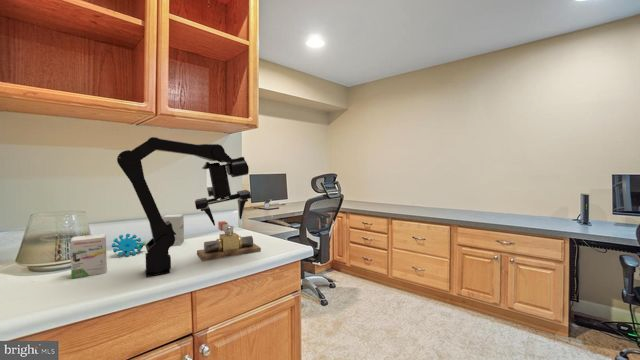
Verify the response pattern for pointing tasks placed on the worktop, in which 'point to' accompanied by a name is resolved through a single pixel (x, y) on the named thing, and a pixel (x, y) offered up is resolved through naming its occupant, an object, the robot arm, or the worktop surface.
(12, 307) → the worktop surface
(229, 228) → the valve lever
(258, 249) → the mount board
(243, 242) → the valve pipe
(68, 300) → the worktop surface
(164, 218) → the supplement box
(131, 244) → the blue spiky virus toy
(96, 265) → the white pink medicine box
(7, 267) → the worktop surface
